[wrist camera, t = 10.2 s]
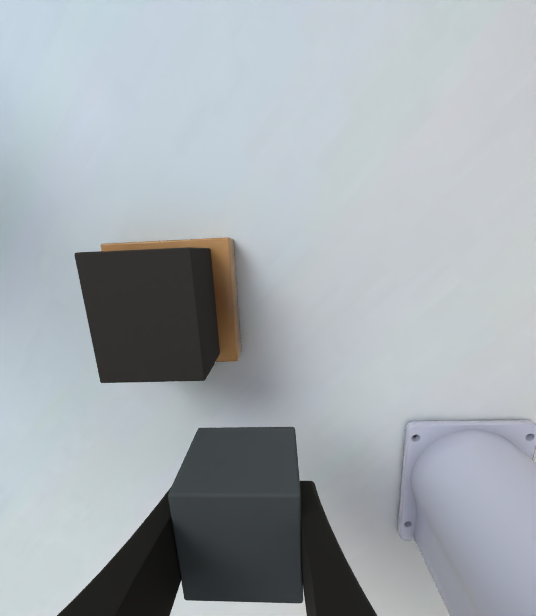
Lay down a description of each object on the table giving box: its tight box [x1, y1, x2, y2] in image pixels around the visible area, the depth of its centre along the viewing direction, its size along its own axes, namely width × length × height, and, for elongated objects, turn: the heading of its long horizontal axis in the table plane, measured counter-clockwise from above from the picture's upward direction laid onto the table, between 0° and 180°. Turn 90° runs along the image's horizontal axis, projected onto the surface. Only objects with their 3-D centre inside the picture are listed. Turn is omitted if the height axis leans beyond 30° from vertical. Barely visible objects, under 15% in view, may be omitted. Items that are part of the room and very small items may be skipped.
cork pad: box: [101, 238, 241, 362], centre depth 15 cm, size 7×7×2 cm
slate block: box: [168, 427, 303, 603], centre depth 10 cm, size 5×4×3 cm
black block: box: [75, 247, 220, 383], centre depth 13 cm, size 6×5×3 cm
